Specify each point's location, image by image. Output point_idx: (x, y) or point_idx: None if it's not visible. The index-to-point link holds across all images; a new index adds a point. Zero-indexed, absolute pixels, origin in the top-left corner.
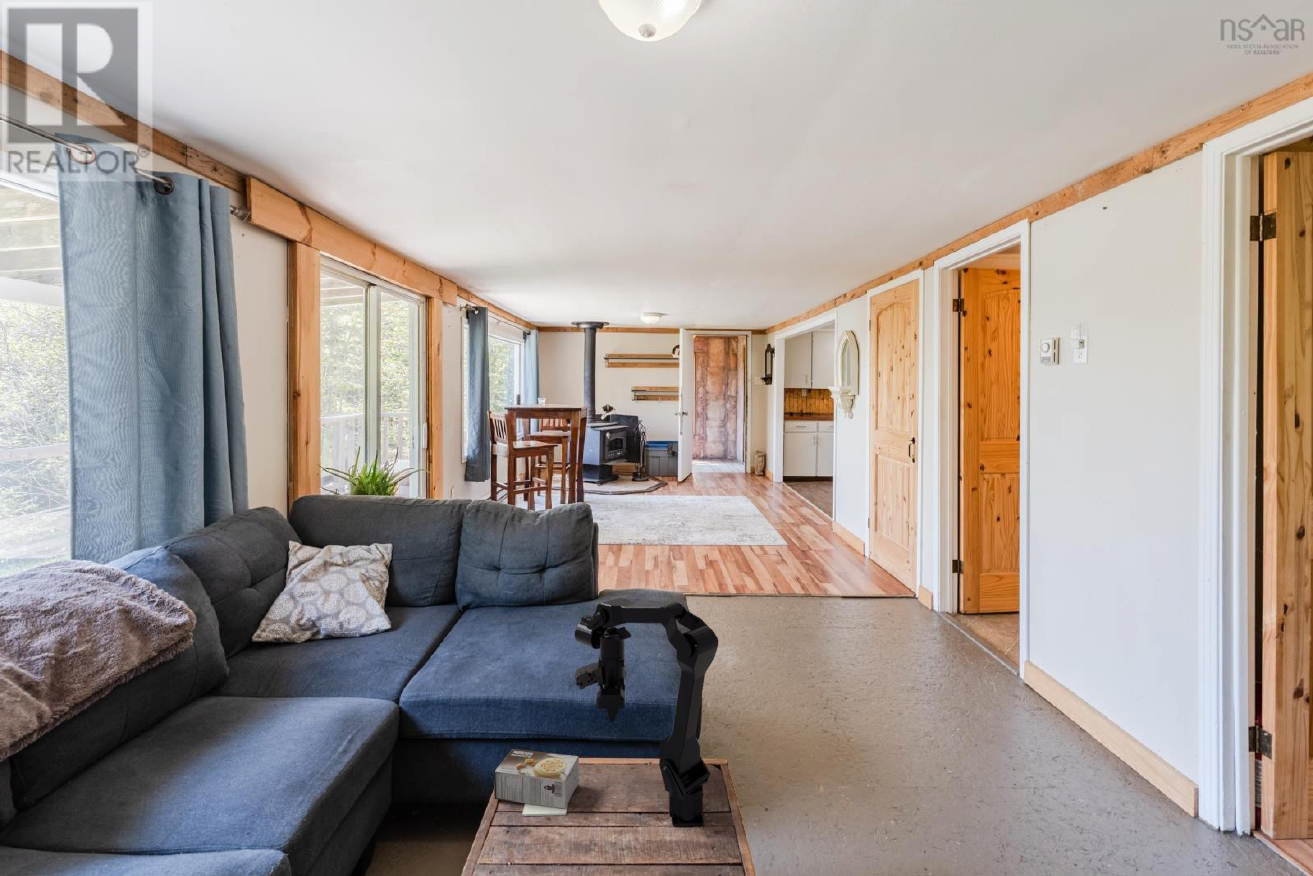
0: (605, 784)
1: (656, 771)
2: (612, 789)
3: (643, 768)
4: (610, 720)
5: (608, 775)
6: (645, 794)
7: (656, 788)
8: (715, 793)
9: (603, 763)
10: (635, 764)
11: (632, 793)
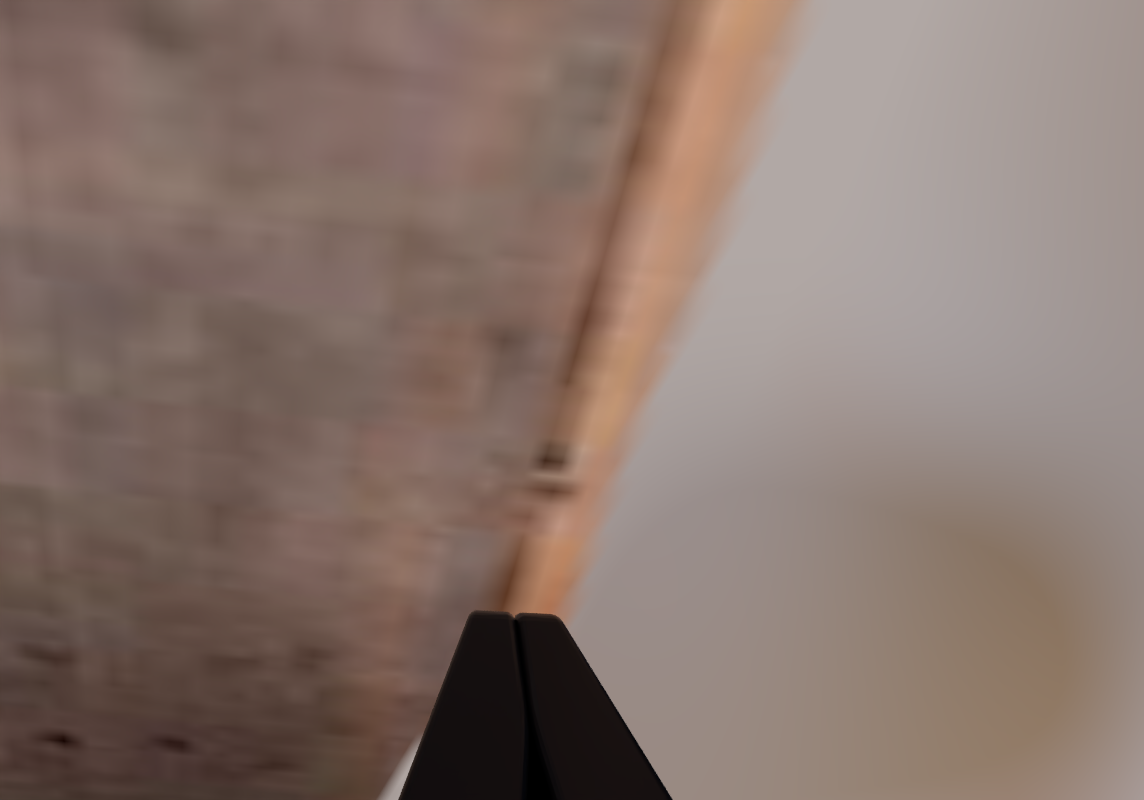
0: (205, 10)
1: (406, 519)
2: (95, 86)
3: (476, 430)
4: (461, 642)
5: (403, 72)
6: (21, 400)
7: (129, 492)
8: (77, 797)
9: (681, 39)
10: (563, 372)
11: (28, 289)
